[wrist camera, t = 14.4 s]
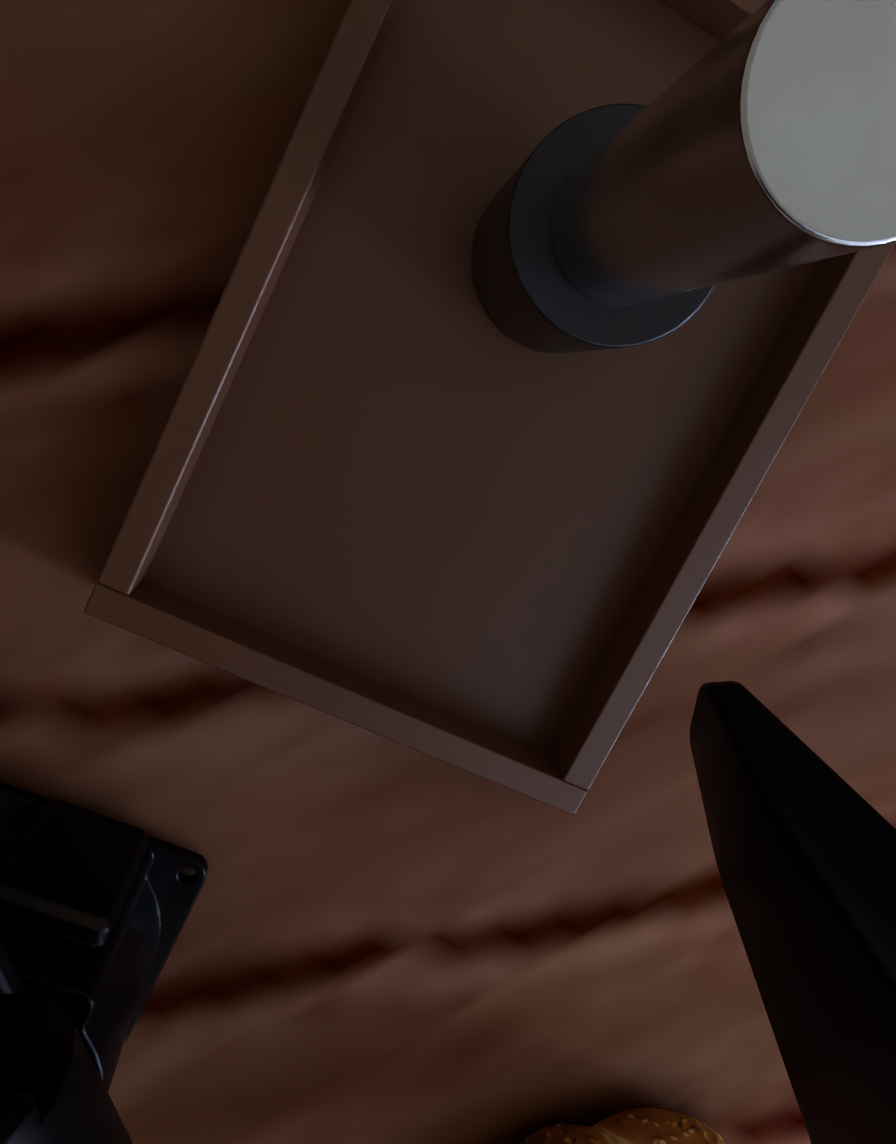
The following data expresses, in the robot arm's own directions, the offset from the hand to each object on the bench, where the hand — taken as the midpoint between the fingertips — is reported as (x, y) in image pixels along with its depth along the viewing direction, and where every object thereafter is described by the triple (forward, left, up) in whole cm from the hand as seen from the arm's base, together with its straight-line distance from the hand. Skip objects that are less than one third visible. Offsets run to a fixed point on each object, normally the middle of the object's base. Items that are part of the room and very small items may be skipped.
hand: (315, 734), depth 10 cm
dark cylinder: (+9, -2, -13) cm, 15 cm away
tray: (+6, -2, -13) cm, 14 cm away
